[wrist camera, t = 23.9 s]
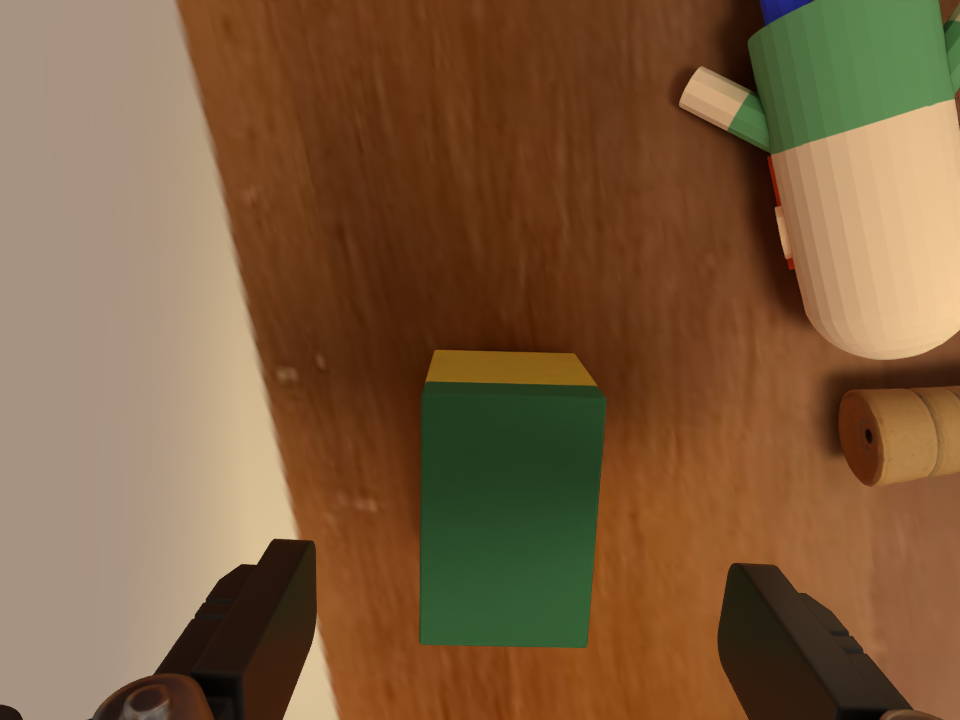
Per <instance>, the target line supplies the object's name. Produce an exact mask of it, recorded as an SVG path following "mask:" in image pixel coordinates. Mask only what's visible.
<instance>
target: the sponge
mask: <svg viewBox="0 0 960 720" xmlns="http://www.w3.org/2000/svg"><path fill="white" fill-rule="evenodd" d="M606 402H607V400H606V398H605V396H604V395H603V393H602V392H601V391H600V389H599V388H598V387H597V384H596V383H595V382H594V380H593V379H592V377H591V376H590V375H589V373H588V372H587V370H586V369H585V368H584V366H583V365H582V363H581V362H580V360H579V359H578V358H577V356H576V355H575V354H574V353H538V352H502V351H465V350H435V351H434V354H433V357H432V360H431V364H430V367H429V371H428V374H427V378H426V381H425V385H424V389H423V392H422V396H421V510H420V625H419V641H420V644H422V645H463V646H513V647H563V648H585V647H586V646H587V643H588V630H589V617H590V605H591V592H592V579H593V567H594V554H595V541H596V528H597V516H598V503H599V490H600V478H601V465H602V452H603V440H604V427H605V414H606Z"/></svg>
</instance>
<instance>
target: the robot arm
mask: <svg viewBox="0 0 960 720" xmlns="http://www.w3.org/2000/svg"><path fill="white" fill-rule="evenodd" d="M316 615H317V601H316V549H315V544H314V542H313V541H309V540H289V539H288V540H287V539H273V540H272V541H271V543H270V544H269V546H268V548H267V549H266V551H265V552H264V554H263V556H262V557H261V559H260V560H259V562H258V564H257V565H249V564H241V565H240V566H238V567H237V568H235V569H234V570H233V571H231V572H230V573H228V574H227V575H225V576H224V577H223V578H221V579H220V580H219V581H218V583H217V584H216V585H215V587H214V588H213V590H212V591H211V592H210V594H209V595H208V597H207V598H206V602H205V603H203V604H202V605H201V607H200V608H199V610H198V611H197V613H196V614H195V618H194V619H192V620H191V621H190V623H189V624H188V626H187V627H186V628H185V630H184V631H183V633H182V634H181V636H180V637H179V638H178V640H177V641H176V643H175V644H174V646H173V647H172V649H171V650H170V651H169V653H168V655H167V656H166V657H165V659H164V660H163V662H162V663H161V664H160V666H159V667H158V669H157V670H156V672H155V673H154V674H153V675H152V676H148V677H145V678H141V679H139V680H136V681H134V682H131V683H129V684H128V685H126V686H124V687H122V688H120V689H119V690H117V691H116V692H114V693H113V694H112V695H111V696H109V697H108V698H107V699H106V700H105V701H104V702H103V703H102V704H101V705H100V706H99V708H98V709H97V711H96V712H95V714H94V716H93V718H92V719H89V720H283V717H284V715H285V712H286V709H287V707H288V704H289V702H290V699H291V696H292V694H293V691H294V689H295V686H296V684H297V681H298V678H299V676H300V673H301V671H302V668H303V666H304V663H305V660H306V658H307V655H308V653H309V650H310V647H311V644H312V641H313V637H314V632H315V625H316ZM718 652H719V657H720V661H721V664H722V667H723V669H724V671H725V673H726V675H727V677H728V679H729V681H730V683H731V685H732V687H733V689H734V691H735V693H736V695H737V697H738V699H739V701H740V703H741V705H742V707H743V709H744V711H745V713H746V715H747V717H748V719H749V720H942V719H940V718H938V717H935V716H933V715H930V714H927V713H923V712H920V711H915V710H914V709H913V708H912V707H911V706H910V705H909V703H908V702H907V701H906V700H905V699H904V697H903V696H902V695H901V694H900V693H899V692H898V690H897V689H896V688H895V687H894V686H893V684H892V683H891V682H890V681H889V680H888V678H887V677H886V676H885V675H884V674H883V672H882V671H881V670H880V669H879V668H878V666H877V665H876V664H875V663H874V662H873V660H872V659H871V658H870V657H869V656H868V655H867V654H864V653H863V649H862V647H861V646H860V645H859V644H858V643H857V641H856V640H855V639H854V638H853V637H852V636H849V632H848V631H847V629H846V628H845V627H844V626H843V625H842V623H841V622H840V621H839V620H838V619H837V618H836V616H835V615H834V614H833V613H832V612H831V611H830V610H829V609H827V608H826V607H824V606H823V605H821V604H820V603H819V602H817V601H816V600H814V599H813V598H812V597H810V596H809V595H807V594H806V593H798V592H797V591H796V590H795V588H794V587H793V586H792V584H791V583H790V582H789V581H788V579H787V578H786V577H785V576H784V574H783V573H782V572H781V571H780V569H779V568H778V567H777V566H775V565H768V564H748V563H734V564H732V565H731V567H730V568H729V571H728V576H727V581H726V587H725V593H724V599H723V605H722V611H721V616H720V622H719V628H718ZM0 720H23V719H22V717H21V715H20V713H19V712H18V711H17V710H16V709H14V708H12V707H9V706H5V705H0Z"/></svg>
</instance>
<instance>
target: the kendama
mask: <svg viewBox="0 0 960 720" xmlns="http://www.w3.org/2000/svg"><path fill="white" fill-rule="evenodd" d="M838 427H839V437H840V443H841V446H842V450H843V453H844V456H845V458H846V460H847V462H848V465H849V467H850V468H851V470H852V471H853V473H854V474H855V476H856V477H857V478H858V479H859V480H860V481H861V482H862V483H863V484H865V485H867V486H870V487H874V486H883V485H888V484H893V483H899V482H905V481H910V480H916V479H920V478H924V477H927V476H940V475H946V474H952V473H957V472H960V386H947V387H923V388H911V389H903V388H899V389H860V390H850V391H848V392H847V393H846V394H845V395H844V396H843V398H842V401H841V403H840V407H839V413H838Z"/></svg>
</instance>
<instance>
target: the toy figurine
mask: <svg viewBox="0 0 960 720" xmlns="http://www.w3.org/2000/svg"><path fill="white" fill-rule="evenodd" d="M760 4H761V9H762V14H763V18H764V23H765V27H763V28H762V29H760V30H759V31H758V32H756V33H755V34H754V35H752V36H751V37H750V39H749V40H748V42H747V44H748V49H749V54H750V58H751V63H752V68H753V73H754V78H755V82H756V87H757V92H758V94H757V93H755V92H753V91H751V90H749V89H747V88H745V87H743V86H741V85H739V84H737V83H735V82H733V81H731V80H729V79H727V78H725V77H723V76H721V75H719V74H717V73H715V72H713V71H711V70H708V69H706V68H704V67H702V66H701V67H700V68H698V69H697V70H696V72H695V73H694V75H693V76H692V77H691V79H690V81H689V83H688V84H687V86H686V88H685V90H684V92H683V94H682V96H681V99H680V101H679V107H681V108H683V109H685V110H687V111H689V112H691V113H693V114H695V115H697V116H699V117H701V118H702V119H704V120H706V121H708V122H710V123H712V124H714V125H716V126H718V127H720V128H722V129H724V130H726V131H728V132H730V133H732V134H734V135H736V136H737V137H739V138H741V139H743V140H745V141H747V142H749V143H751V144H753V145H755V146H757V147H759V148H761V149H763V150H765V151H767V152H769V153H770V154H771V156H769V157H767V159H768V163H769V168H770V173H771V178H772V182H773V187H774V191H775V196H776V201H777V205H778V207H775V212H776V217H777V223H778V228H779V233H780V238H781V243H782V247H783V251H784V254H785V258H786V259H787V261H788V266H789V270H793V269H795V271H796V275H797V280H798V284H799V288H800V292H801V296H802V300H803V304H804V309H805V313H806V315H807V317H808V318H809V320H810V322H811V323H812V325H813V327H814V328H815V329H816V330H817V331H818V332H819V334H820V335H821V336H822V337H823V338H824V339H825V340H827V341H828V342H830V343H831V344H833V345H834V346H835V347H837V348H839V349H841V350H843V351H846V352H848V353H850V354H853V355H856V356H860V357H865V358H870V359H876V360H890V359H900V358H906V357H911V356H916V355H919V354H922V353H925V352H927V351H929V350H931V349H933V348H935V347H937V346H939V345H941V344H943V343H944V342H945V341H947V340H948V339H949V338H950V337H952V336H953V335H954V334H955V333H957V332H958V331H959V330H960V129H959V123H958V116H957V110H956V104H955V98H954V94H955V93H956V92H957V90H958V89H959V88H960V4H959V5H958V6H957V8H956V9H955V11H954V12H953V13H952V15H951V16H950V18H949V19H948V20H947V22H946V23H945V25H944V26H943V23H942V17H941V11H940V4H939V0H815V1H813V2H812V0H760Z"/></svg>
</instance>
